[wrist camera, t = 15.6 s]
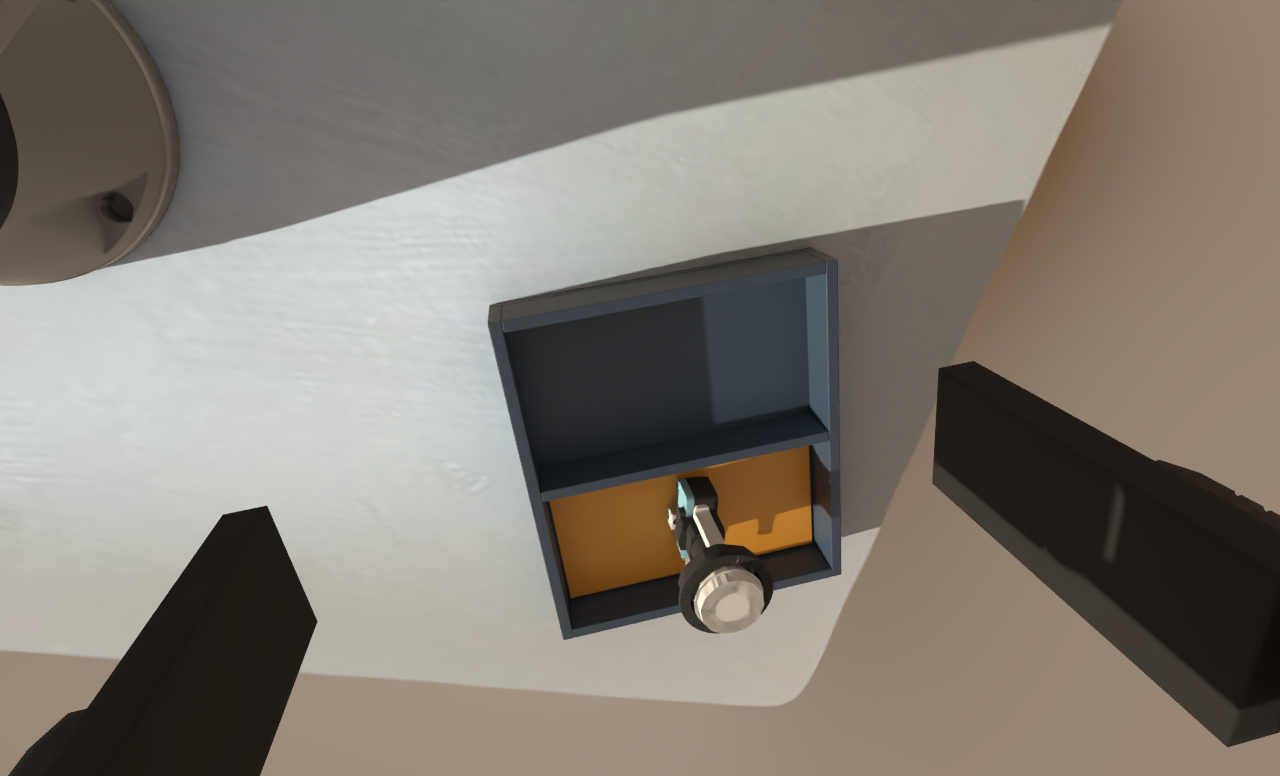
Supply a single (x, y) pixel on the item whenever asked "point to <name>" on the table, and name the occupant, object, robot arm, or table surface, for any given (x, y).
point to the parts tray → (676, 425)
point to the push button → (714, 565)
